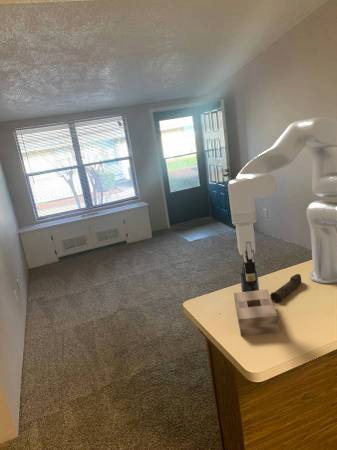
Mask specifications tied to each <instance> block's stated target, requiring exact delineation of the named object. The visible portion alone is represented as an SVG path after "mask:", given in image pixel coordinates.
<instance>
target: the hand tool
mask: <svg viewBox="0 0 337 450" xmlns="http://www.w3.org/2000/svg"><path fill="white" fill-rule="evenodd" d="M301 284H302V276H301V274H300V273H297V274H294V275H293V276H291V277H290V280H288V281H287V282H286V283H285V284H283V285H282V286H281V287H279V288H278V289H276V290H275V291H274V292H270V298H271V300H272V302H274V301H275V303H278V302H279V303H281V301H283V299H284V298H285V297H286V296H287V295H289V294H290V293H291V292H292V291H293V290H295V289H298V288H300V286H301Z"/></svg>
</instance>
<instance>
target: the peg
mask: <svg viewBox="0 0 337 450" xmlns="http://www.w3.org/2000/svg"><path fill="white" fill-rule="evenodd" d="M245 253H247V252H245ZM247 257H248V256H246V258H247ZM242 258H244V262H245V257H244V255H242ZM244 266H245V264H244ZM245 274H246V273H245ZM246 281H249V282H252V281H255V273H253V274H246Z"/></svg>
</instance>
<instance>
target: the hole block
mask: <svg viewBox="0 0 337 450" xmlns="http://www.w3.org/2000/svg"><path fill="white" fill-rule="evenodd" d="M233 296H234V304H235V305H234V306H235V312H236V316H237V321H238V322H237V323H238V327H239V333H240V336H241V337H243V336H244V337H245V336H255V335H266V333H268V334H278V333H280V323H279V315H278V312H277V310H276V307H275V305H274V303H273V302H274V301H272V299H271V294H270V293H269V291H268V289H259V290H257V291H248V292H242V291H239V292H233Z"/></svg>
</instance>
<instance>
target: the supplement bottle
mask: <svg viewBox="0 0 337 450" xmlns="http://www.w3.org/2000/svg"><path fill="white" fill-rule="evenodd" d="M239 278H240V279H239V280H240V287H241V292H248V291H257V290H260V285H259V274H258V271H257V270H256V273H255V281H252V282H249V281H246V274H245V269H244V263H242V264H241V270H240V272H239Z"/></svg>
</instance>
